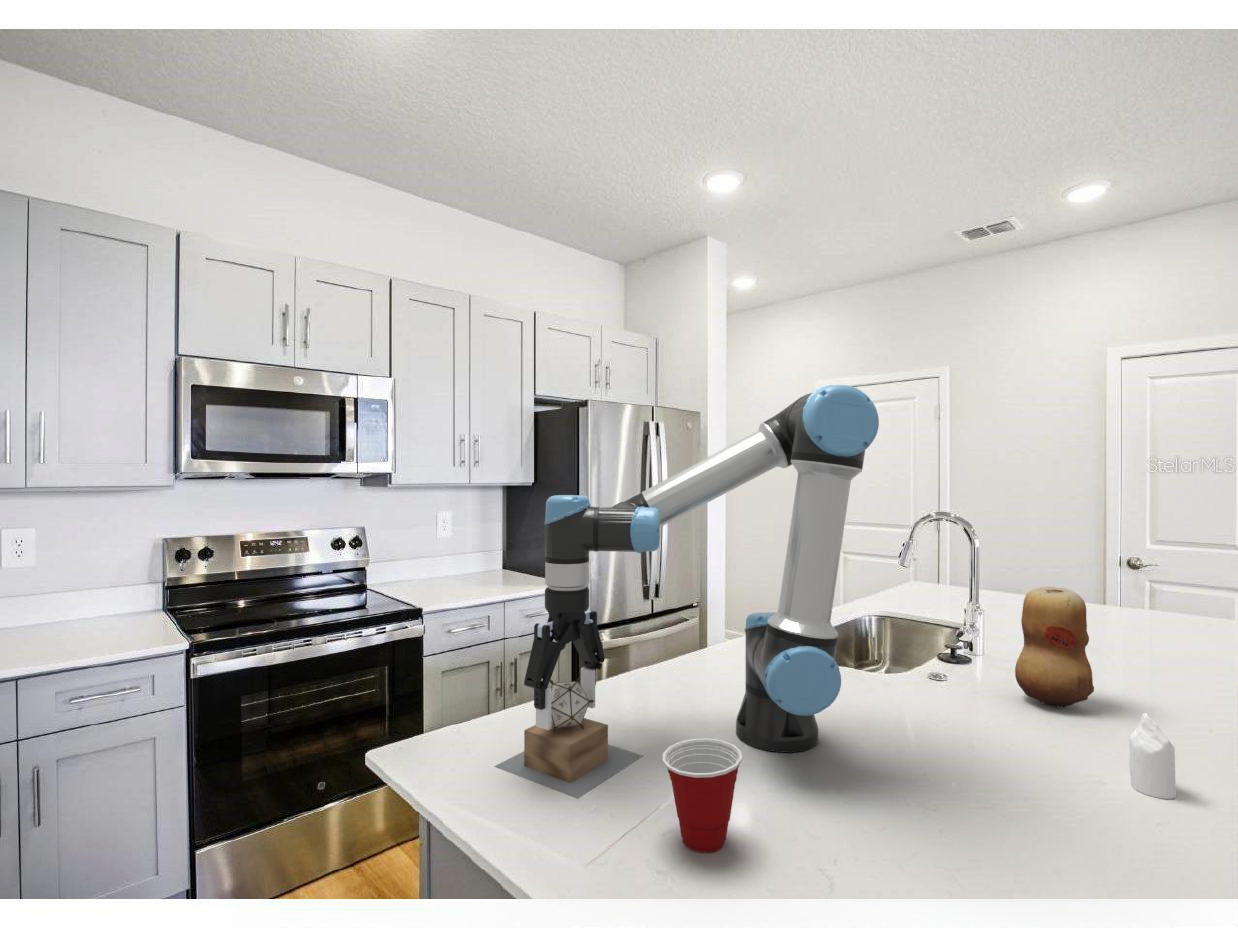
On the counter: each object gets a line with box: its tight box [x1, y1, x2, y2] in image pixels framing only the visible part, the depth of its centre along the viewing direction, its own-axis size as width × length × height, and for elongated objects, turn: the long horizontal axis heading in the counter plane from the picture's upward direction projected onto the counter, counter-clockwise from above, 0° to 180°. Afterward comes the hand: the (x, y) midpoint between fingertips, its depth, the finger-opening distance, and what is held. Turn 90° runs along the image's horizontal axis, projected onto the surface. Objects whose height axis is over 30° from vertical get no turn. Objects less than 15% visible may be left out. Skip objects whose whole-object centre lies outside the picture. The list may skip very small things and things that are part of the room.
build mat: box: [494, 744, 644, 799], centre depth 111 cm, size 18×18×1 cm
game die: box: [549, 676, 594, 733], centre depth 110 cm, size 9×8×10 cm
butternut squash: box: [1014, 586, 1095, 709], centre depth 139 cm, size 14×13×25 cm
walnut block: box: [523, 717, 609, 783], centre depth 110 cm, size 10×10×6 cm
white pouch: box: [1128, 712, 1177, 800], centre depth 103 cm, size 6×12×6 cm
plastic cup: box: [661, 737, 743, 854], centre depth 88 cm, size 11×11×12 cm
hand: (566, 716), depth 110 cm, fingers open, 11 cm apart
